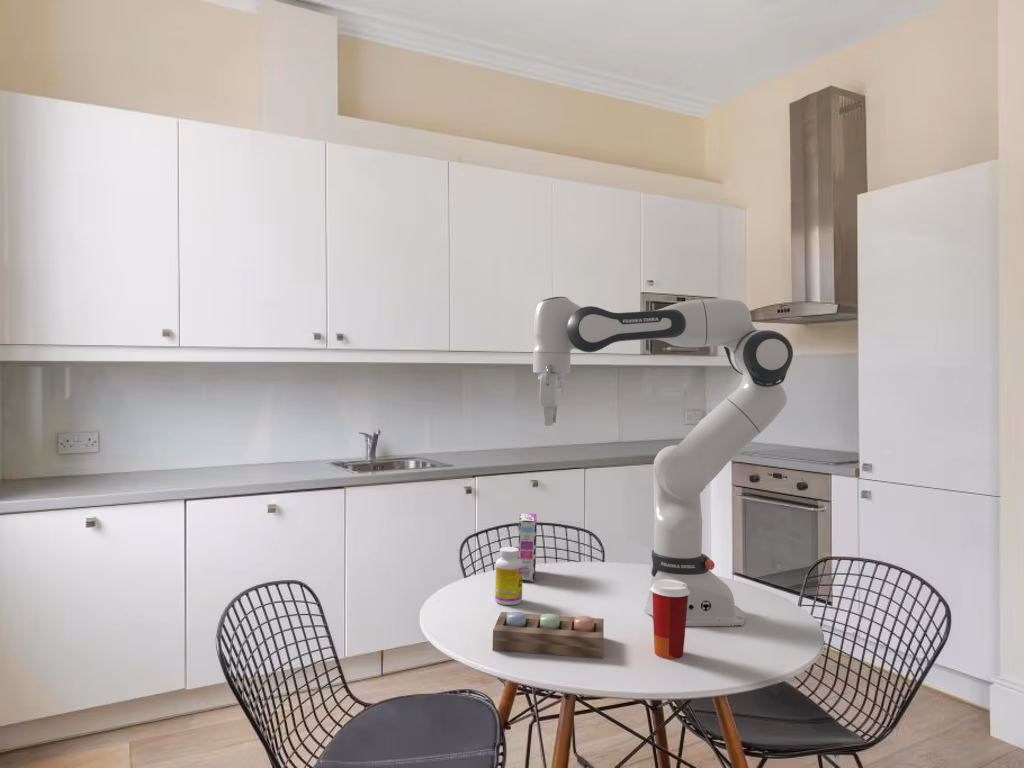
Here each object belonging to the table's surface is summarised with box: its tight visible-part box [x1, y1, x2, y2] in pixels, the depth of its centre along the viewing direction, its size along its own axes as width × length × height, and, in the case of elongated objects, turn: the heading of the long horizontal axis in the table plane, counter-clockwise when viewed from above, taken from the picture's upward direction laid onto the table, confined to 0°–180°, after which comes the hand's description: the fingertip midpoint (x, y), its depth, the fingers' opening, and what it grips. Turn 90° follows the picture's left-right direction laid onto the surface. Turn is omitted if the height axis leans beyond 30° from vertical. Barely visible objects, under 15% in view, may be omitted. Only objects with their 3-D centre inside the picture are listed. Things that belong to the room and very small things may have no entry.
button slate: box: [507, 611, 527, 627], centre depth 143 cm, size 4×4×2 cm
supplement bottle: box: [494, 546, 523, 606], centre depth 168 cm, size 7×7×13 cm
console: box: [492, 611, 605, 659], centre depth 142 cm, size 22×11×4 cm, turn 82°
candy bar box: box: [517, 512, 538, 583], centre depth 189 cm, size 11×5×16 cm, turn 178°
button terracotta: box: [574, 615, 594, 632], centre depth 141 cm, size 4×4×2 cm
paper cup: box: [649, 579, 690, 660], centre depth 138 cm, size 8×8×14 cm
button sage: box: [540, 613, 560, 629], centre depth 142 cm, size 4×4×2 cm
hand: (550, 424), depth 163 cm, fingers open, 8 cm apart
